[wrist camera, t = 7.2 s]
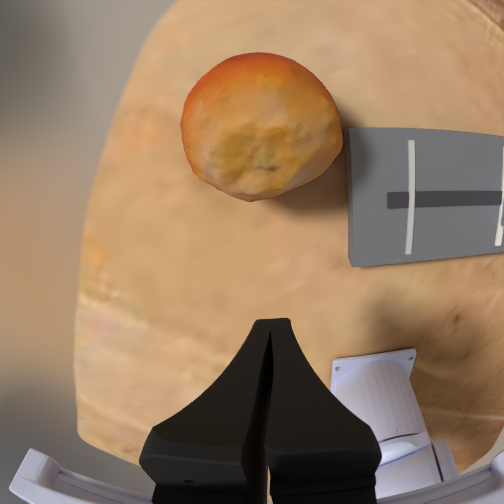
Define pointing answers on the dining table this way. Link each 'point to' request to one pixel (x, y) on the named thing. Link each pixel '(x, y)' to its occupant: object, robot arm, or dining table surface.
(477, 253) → the board
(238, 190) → the fruit
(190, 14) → the dining table surface
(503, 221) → the fader cap
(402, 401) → the robot arm
